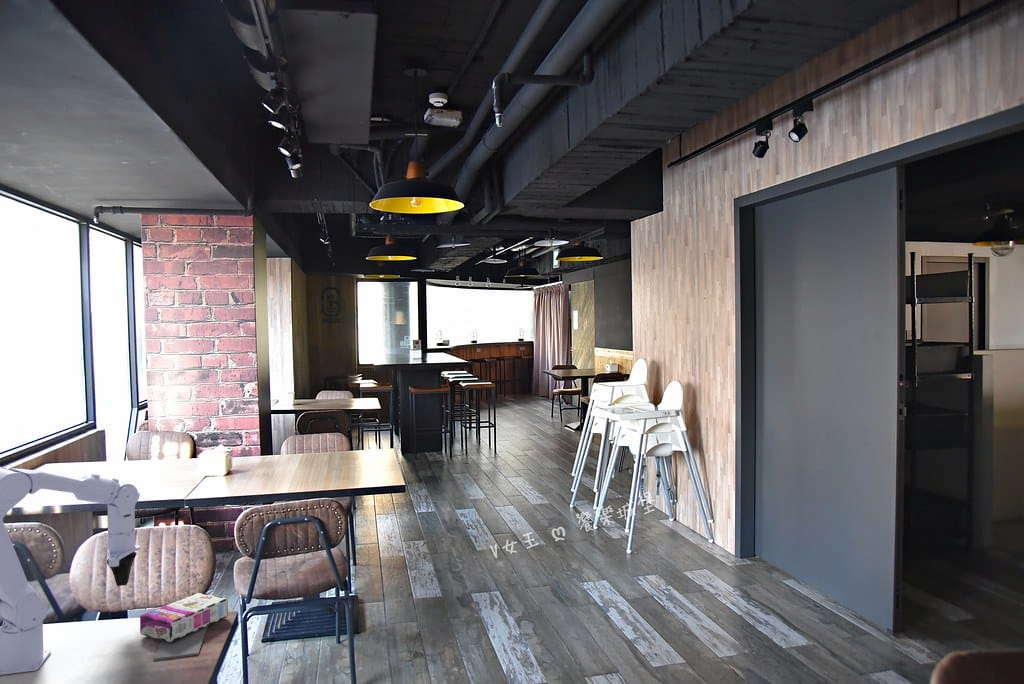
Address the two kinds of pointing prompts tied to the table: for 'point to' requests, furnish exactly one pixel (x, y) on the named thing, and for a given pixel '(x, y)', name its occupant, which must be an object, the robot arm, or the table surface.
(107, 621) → the table surface
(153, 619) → the candy bar box
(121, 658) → the table surface
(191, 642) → the mat
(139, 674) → the table surface
